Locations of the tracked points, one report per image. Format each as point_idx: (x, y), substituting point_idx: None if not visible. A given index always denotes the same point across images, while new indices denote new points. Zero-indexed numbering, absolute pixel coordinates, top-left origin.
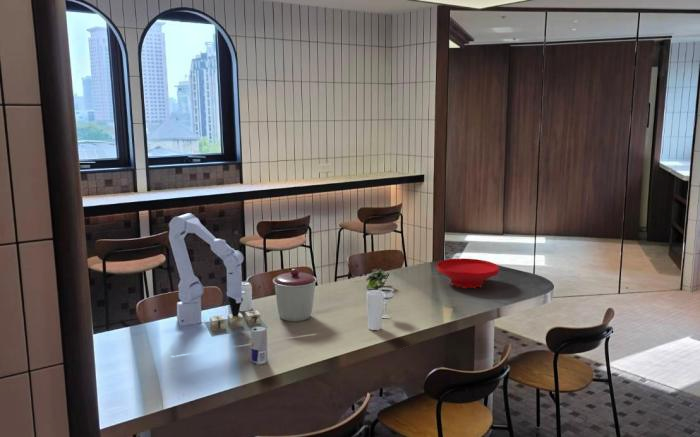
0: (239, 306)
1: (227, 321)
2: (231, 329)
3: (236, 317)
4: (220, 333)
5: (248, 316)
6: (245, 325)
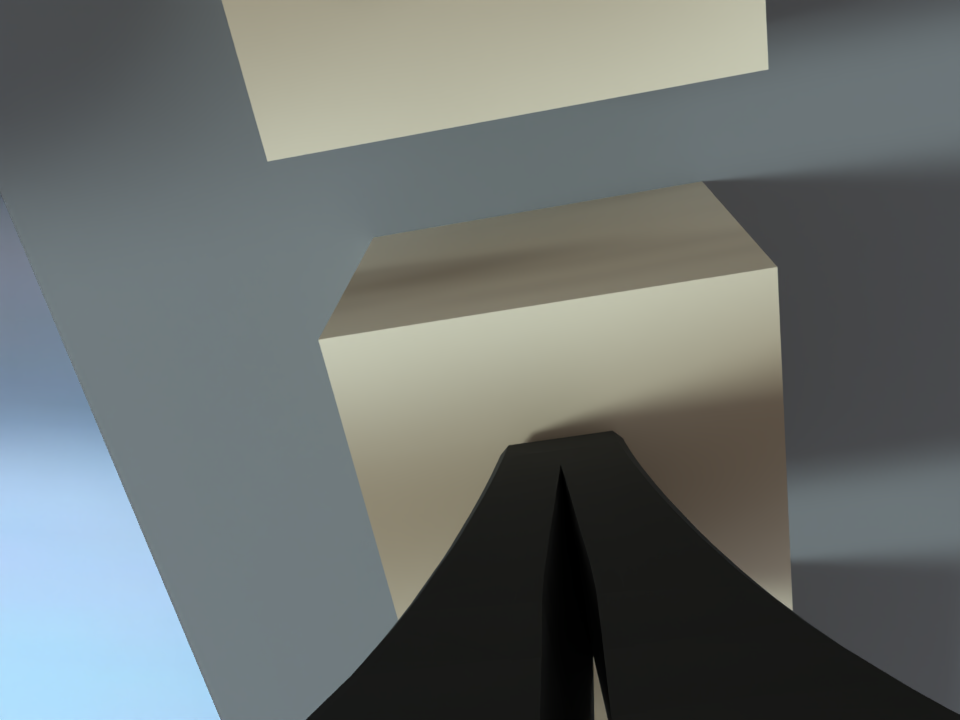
0: (794, 629)
1: (286, 510)
2: (818, 459)
3: (775, 477)
4: (956, 656)
5: (755, 49)
6: (661, 120)
